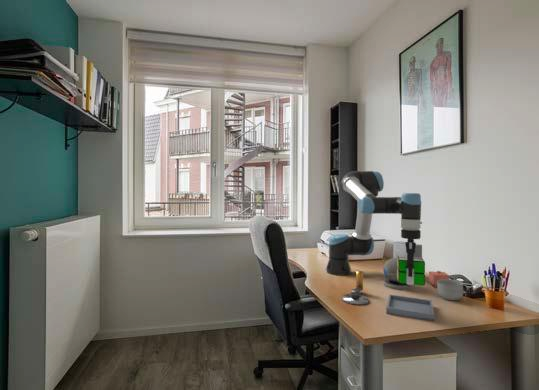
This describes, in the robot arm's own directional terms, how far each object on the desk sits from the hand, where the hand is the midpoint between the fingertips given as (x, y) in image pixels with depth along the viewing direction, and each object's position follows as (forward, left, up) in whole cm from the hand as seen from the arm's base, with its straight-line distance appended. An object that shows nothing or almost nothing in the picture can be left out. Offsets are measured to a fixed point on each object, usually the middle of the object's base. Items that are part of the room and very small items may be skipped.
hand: (410, 280), depth 130 cm
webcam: (-33, -7, -13) cm, 36 cm away
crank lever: (-7, -23, -11) cm, 26 cm away
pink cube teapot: (-42, +14, -13) cm, 46 cm away
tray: (0, 0, -13) cm, 13 cm away
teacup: (-25, +18, -13) cm, 33 cm away
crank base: (-1, -23, -13) cm, 26 cm away
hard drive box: (-56, -2, -13) cm, 58 cm away
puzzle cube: (0, 0, -1) cm, 1 cm away
